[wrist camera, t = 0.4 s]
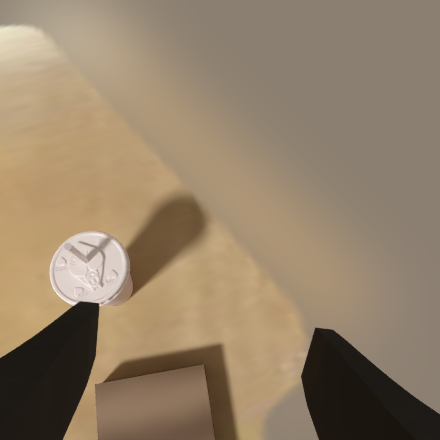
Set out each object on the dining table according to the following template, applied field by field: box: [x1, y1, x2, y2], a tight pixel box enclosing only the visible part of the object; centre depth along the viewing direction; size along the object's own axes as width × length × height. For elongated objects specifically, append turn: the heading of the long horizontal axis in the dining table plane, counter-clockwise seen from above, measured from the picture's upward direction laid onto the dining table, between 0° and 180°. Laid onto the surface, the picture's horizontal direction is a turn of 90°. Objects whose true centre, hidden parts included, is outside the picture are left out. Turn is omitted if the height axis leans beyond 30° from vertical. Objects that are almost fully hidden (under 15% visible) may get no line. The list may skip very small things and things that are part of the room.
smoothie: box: [50, 231, 133, 306], centre depth 33 cm, size 6×6×14 cm
